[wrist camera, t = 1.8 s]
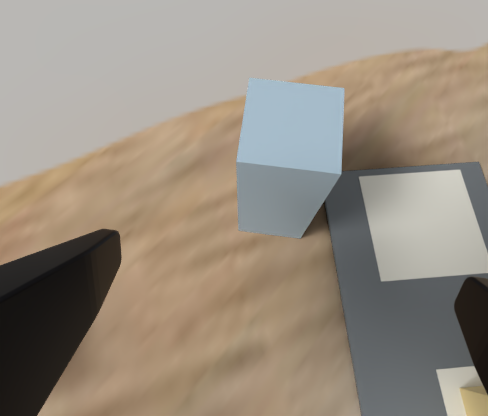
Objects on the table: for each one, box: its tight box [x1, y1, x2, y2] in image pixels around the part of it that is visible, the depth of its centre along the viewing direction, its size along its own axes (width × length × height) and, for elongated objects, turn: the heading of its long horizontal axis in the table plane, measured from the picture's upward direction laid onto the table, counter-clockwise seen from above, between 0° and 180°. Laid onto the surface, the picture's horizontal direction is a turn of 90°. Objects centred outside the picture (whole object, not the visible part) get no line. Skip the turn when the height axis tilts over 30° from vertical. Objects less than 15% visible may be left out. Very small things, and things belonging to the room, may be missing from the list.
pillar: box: [236, 78, 344, 238], centre depth 18 cm, size 4×4×10 cm
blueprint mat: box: [325, 162, 488, 416], centre depth 20 cm, size 20×12×1 cm, turn 5°
